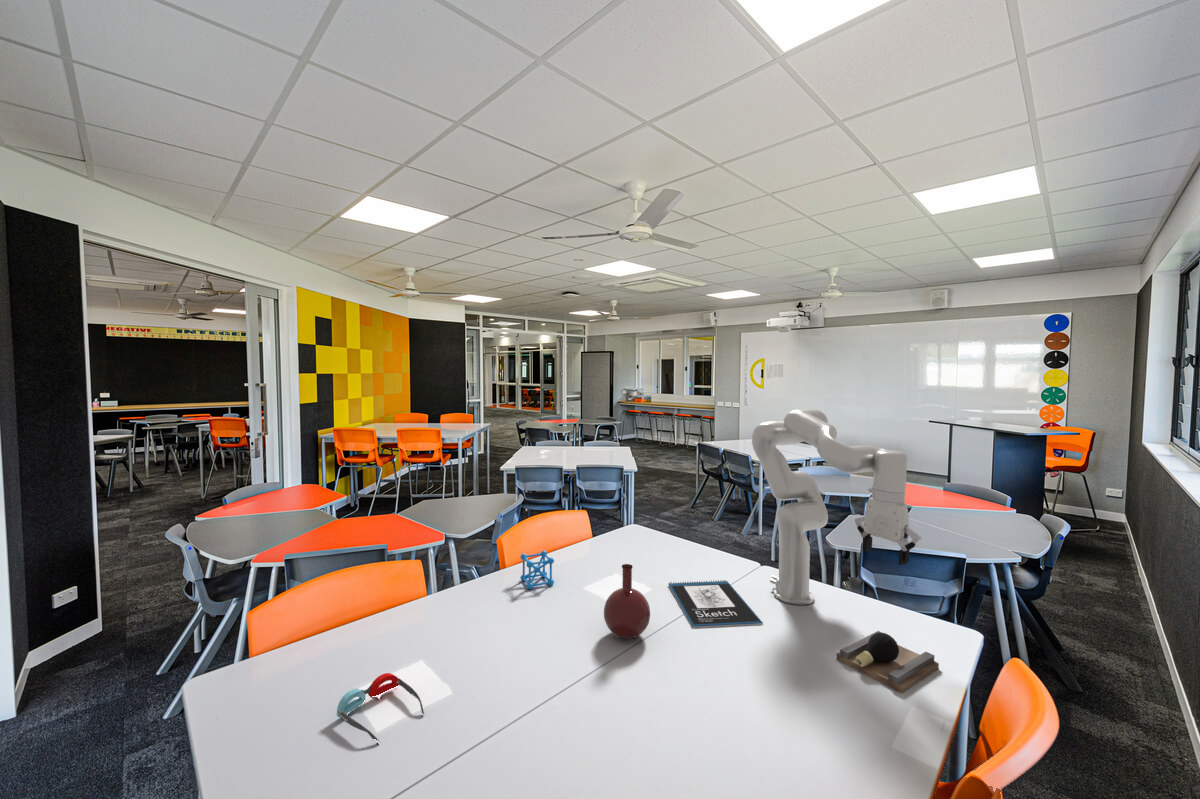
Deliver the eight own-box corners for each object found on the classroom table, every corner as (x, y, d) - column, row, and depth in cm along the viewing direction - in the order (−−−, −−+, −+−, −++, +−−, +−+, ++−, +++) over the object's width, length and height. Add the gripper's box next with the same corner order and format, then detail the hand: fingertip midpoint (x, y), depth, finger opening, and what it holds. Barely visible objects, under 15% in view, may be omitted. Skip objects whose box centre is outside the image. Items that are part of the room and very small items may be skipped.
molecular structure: (519, 580, 174) (519, 553, 174) (545, 575, 178) (545, 549, 178) (527, 591, 165) (527, 562, 165) (555, 586, 169) (555, 558, 169)
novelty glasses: (394, 687, 113) (394, 667, 113) (431, 713, 104) (431, 691, 104) (333, 720, 102) (333, 698, 102) (369, 753, 93) (369, 728, 93)
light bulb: (858, 647, 117) (892, 626, 122) (842, 649, 123) (875, 630, 127) (876, 676, 115) (910, 654, 119) (858, 677, 120) (891, 656, 124)
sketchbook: (692, 630, 140) (692, 623, 140) (667, 586, 170) (667, 580, 170) (762, 626, 143) (762, 619, 143) (726, 583, 173) (726, 578, 172)
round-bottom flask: (595, 640, 133) (595, 569, 133) (616, 620, 145) (616, 554, 144) (639, 653, 127) (639, 579, 127) (656, 630, 139) (657, 562, 138)
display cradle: (836, 659, 125) (836, 647, 125) (874, 639, 134) (874, 629, 134) (901, 693, 111) (901, 680, 111) (938, 668, 121) (938, 657, 121)
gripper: (849, 490, 136) (846, 549, 137) (914, 506, 121) (910, 572, 122) (865, 487, 139) (862, 544, 141) (930, 502, 124) (926, 566, 126)
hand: (884, 557), depth 131 cm, fingers open, 9 cm apart
